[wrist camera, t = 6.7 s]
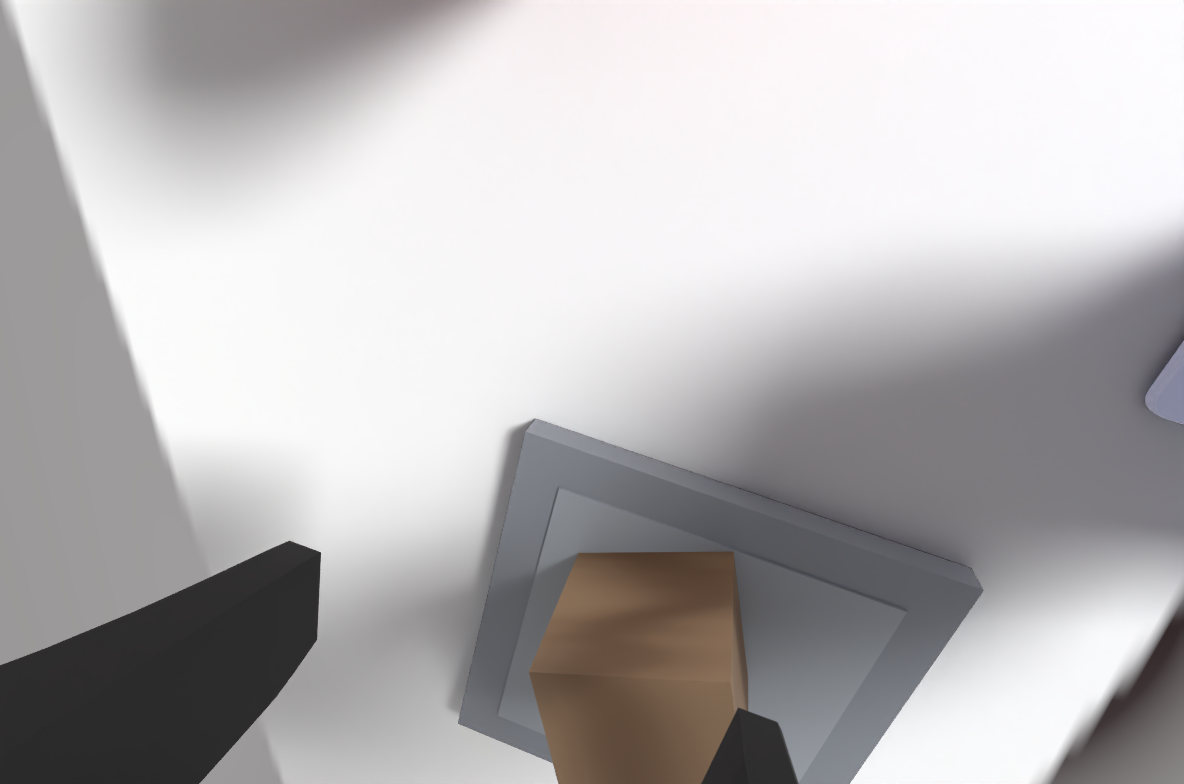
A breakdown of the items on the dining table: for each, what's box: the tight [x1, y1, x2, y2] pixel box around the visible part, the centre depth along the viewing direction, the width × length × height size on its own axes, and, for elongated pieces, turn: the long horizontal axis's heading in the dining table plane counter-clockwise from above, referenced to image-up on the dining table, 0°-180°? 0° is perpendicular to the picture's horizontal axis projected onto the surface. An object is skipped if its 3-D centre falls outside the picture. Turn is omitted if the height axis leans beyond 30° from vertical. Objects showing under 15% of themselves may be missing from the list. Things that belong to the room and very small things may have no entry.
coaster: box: [458, 419, 984, 784], centre depth 21 cm, size 14×14×1 cm
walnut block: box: [529, 552, 748, 784], centre depth 17 cm, size 5×5×5 cm
